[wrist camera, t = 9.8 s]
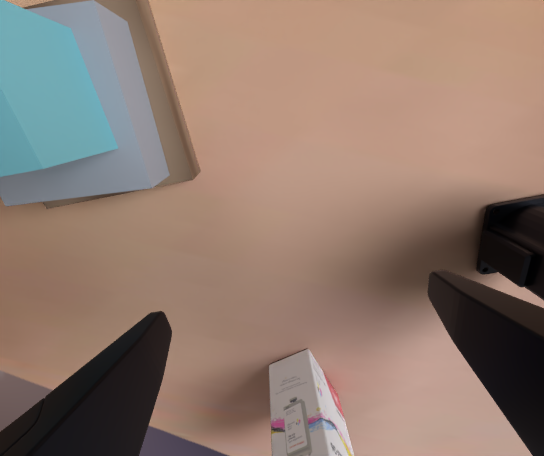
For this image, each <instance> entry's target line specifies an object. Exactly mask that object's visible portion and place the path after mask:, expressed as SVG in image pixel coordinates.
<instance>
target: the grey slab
mask: <svg viewBox="0 0 544 456" xmlns="http://www.w3.org/2000/svg"><path fill="white" fill-rule="evenodd" d="M26 10H28V11H31V12H33V13H36V14H38V15H40V16H43V17H45V18H48V19H50V20H52V21H55V22H57V23H59V24H62V25H64V26H67V27H69V28H71V30H72V33H73V35H74V38H75V40H76V43H77V45H78V48H79V50H80V53H81V55H82V58H83V60H84V63H85V65H86V68H87V70H88V73H89V75H90V78H91V80H92V83H93V85H94V88H95V90H96V93H97V96H98V98H99V101H100V103H101V106H102V108H103V111H104V113H105V116H106V118H107V121H108V123H109V126H110V128H111V131H112V133H113V136H114V138H115V141H116V143H117V146H118V149H114V150H111V151H107V152H103V153H100V154H96V155H92V156H89V157H85V158H81V159H78V160H74V161H70V162H67V163H63V164H59V165H56V166H52V167H48V168H45V169H40V170H35V171H29V172H24V173H19V174H13V175H8V176H3V177H0V197H1V199H2V200H3V202H4V204H5V206H12V205H20V204H28V203H36V202H44V201H53V200H61V199H69V198H77V197H85V196H93V195H101V194H109V193H117V192H125V191H133V190H141V189H150V188H153V187H154V186H156V185H157V184H159V183H160V182H161V181H163V180H164V179H165V178H167V177H168V176H170V174H169V170H168V167H167V163H166V160H165V156H164V152H163V149H162V145H161V142H160V138H159V134H158V131H157V127H156V123H155V120H154V116H153V113H152V109H151V105H150V102H149V98H148V95H147V91H146V87H145V84H144V80H143V76H142V73H141V69H140V66H139V62H138V58H137V55H136V51H135V48H134V44H133V40H132V37H131V33H130V30H129V26H128V22H127V21H126V20H124V19H122V18H121V17H119V16H118V15H116V14H115V13H113V12H111V11H110V10H108V9H107V8H105V7H104V6H102V5H101V4H99V3H97V2H96V1H94V0H91V1H83V2H76V3H69V4H61V5H54V6H47V7H39V8H32V9H26Z"/></svg>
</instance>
